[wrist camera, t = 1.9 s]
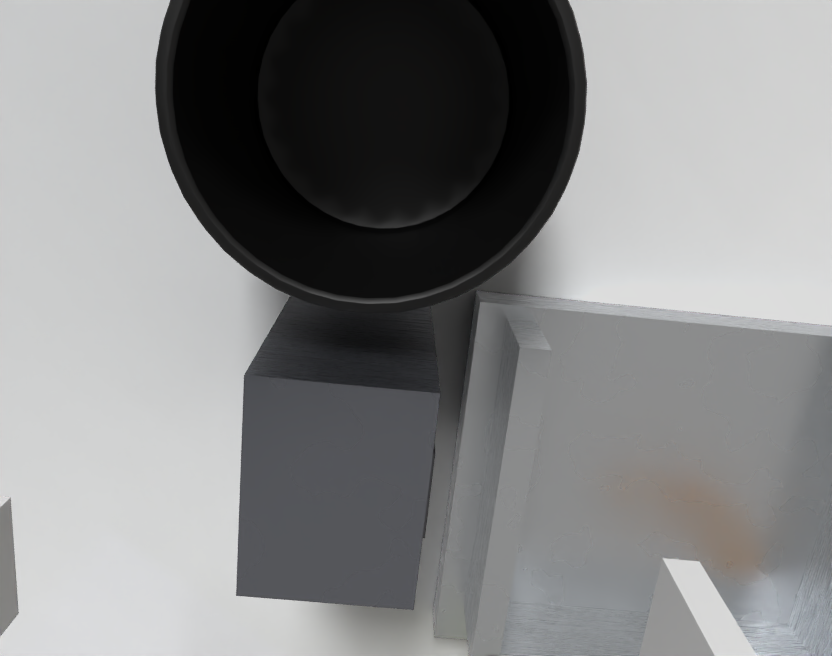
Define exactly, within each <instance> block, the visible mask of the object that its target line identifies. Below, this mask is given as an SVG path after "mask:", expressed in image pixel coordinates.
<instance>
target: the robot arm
mask: <svg viewBox="0 0 832 656" xmlns="http://www.w3.org/2000/svg"><path fill="white" fill-rule="evenodd" d="M17 614H18V598H17V584H16V569H15V555H14V541H13V526H12V512H11V497H1V496H0V636H1V635H2V634H3V632H4V631H5V630H6V629H7V627H8V626H9V625H10V623H11V622H12V621H13V620H14V618H15V617H16V616H17ZM639 656H757V655H756V653H755V652H754V650H753V648H752V647H751V645H750V643H749V642H748V640H747V639H746V637H745V635H744V634H743V632H742V630H741V629H740V627H739V625H738V624H737V622H736V620H735V619H734V617H733V616H732V614H731V612H730V611H729V609H728V607H727V606H726V604H725V602H724V601H723V599H722V598H721V596H720V594H719V593H718V591H717V589H716V588H715V586H714V584H713V583H712V581H711V580H710V578H709V576H708V575H707V573H706V571H705V570H704V568H703V566H702V565H701V563H700V562H699V561H689V560H678V559H667V558H662V562H661V566H660V570H659V575H658V579H657V583H656V587H655V591H654V595H653V600H652V604H651V608H650V612H649V616H648V620H647V625H646V629H645V633H644V637H643V641H642V645H641V650H640V654H639Z"/></svg>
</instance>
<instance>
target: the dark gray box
mask: <svg viewBox="0 0 832 656" xmlns="http://www.w3.org/2000/svg"><path fill="white" fill-rule="evenodd" d="M439 401H440V386H439V377H438V368H437V359H436V350H435V341H434V332H433V323H432V314H431V306H428V307H424V308H420V309H414V310H409V311H404V312H398V313H374V314H371V313H356V312H347V311H339V310H333V309H330V308H326V307H322V306H319V305H315V304H311V303H308V302H306V301H303V300H300V299H298V298H295V297H293V296H290V298H289V299H288V301H287V303H286V304H285V306H284V308H283V310H282V311H281V313H280V315H279V316H278V318H277V320H276V322H275V323H274V325H273V327H272V328H271V330H270V332H269V334H268V335H267V337H266V339H265V340H264V342H263V344H262V346H261V347H260V349H259V351H258V352H257V354H256V356H255V358H254V359H253V361H252V363H251V364H250V366H249V368H248V370H247V371H246V373H245V375H244V396H243V423H242V450H241V478H240V506H239V534H238V562H237V590H236V596H247V597H259V598H272V599H284V600H297V601H310V602H322V603H335V604H347V605H360V606H372V607H385V608H397V609H410V610H413V609H414V601H415V593H416V585H417V577H418V569H419V561H420V553H421V545H422V538H425V530H426V522H427V514H428V506H429V498H430V490H431V482H432V474H433V466H434V458H435V446H434V441H435V433H436V425H437V417H438V409H439Z"/></svg>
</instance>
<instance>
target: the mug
mask: <svg viewBox="0 0 832 656" xmlns="http://www.w3.org/2000/svg"><path fill="white" fill-rule="evenodd" d="M155 94H156V107H157V114H158V122H159V129H160V134H161V138H162V141H163V145H164V148H165V152H166V155H167V159H168V162H169V164H170V167H171V170H172V172H173V174H174V177H175V179H176V181H177V183H178V185H179V188H180V190H181V192H182V194H183V196H184V198H185V200H186V201H187V203H188V204H189V206H190V208H191V209H192V211H193V212H194V214H195V215H196V217H197V218H198V220H199V221H200V223H201V224H202V225H203V227H204V228H205V229H206V231H207V232H208V233H209V234H210V235H211V236H212V237H213V239H214V240H215V241H216V242H217V243H218V244H219V245H220V247H221V248H222V249H223V250H224V251H225V252H226V253H227V254H229V255H230V256H231V257H232V258H233V259H234V260H236V261H237V262H238V263H239V264H240V265H241V266H243V267H244V268H245V269H246V270H248V271H249V272H250V273H252V274H253V275H255V276H256V277H258V278H259V279H261V280H263V281H264V282H266V283H267V284H269V285H270V286H272V287H274V288H275V289H277V290H279V291H282V292H284V293H286V294H288V295H291V296H293V297H295V298H298V299H300V300H303V301H306V302H308V303H311V304H315V305H319V306H322V307H326V308H330V309H333V310H339V311H347V312H356V313H371V314H374V313H398V312H404V311H409V310H414V309H420V308H424V307H428V306H432V305H435V304H438V303H441V302H444V301H446V300H449V299H452V298H455V297H458V296H460V295H461V294H463V293H465V292H467V291H469V290H471V289H473V288H475V287H477V286H478V285H480V284H482V283H483V282H485V281H487V280H488V279H490V278H491V277H492V276H494V275H495V274H496V273H498V272H499V271H501V270H502V269H503V268H505V267H506V266H507V265H509V264H510V263H511V262H512V261H513V260H514V259H515V258H516V257H517V256H518V255H519V254H520V253H521V252H522V251H523V250H524V249H525V248H526V247H527V246H528V245H529V244H530V243H531V241H532V240H533V239H534V238H535V237H536V236H537V234H538V233H539V232H540V230H541V229H542V228H543V226H544V225H545V223H546V222H547V221H548V219H549V218H550V217H551V215H552V214H553V212H554V210H555V208H556V206H557V204H558V202H559V201H560V199H561V197H562V195H563V193H564V191H565V189H566V187H567V184H568V182H569V180H570V177H571V174H572V171H573V169H574V166H575V163H576V160H577V157H578V154H579V151H580V145H581V140H582V135H583V129H584V124H585V115H586V95H587V79H586V70H585V61H584V53H583V48H582V42H581V38H580V34H579V31H578V27H577V23H576V20H575V16H574V12H573V10H572V8H571V5H570V3H569V1H568V0H170V3H169V6H168V9H167V12H166V15H165V18H164V22H163V26H162V30H161V34H160V40H159V46H158V52H157V57H156V80H155Z"/></svg>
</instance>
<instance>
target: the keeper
mask: <svg viewBox="0 0 832 656" xmlns="http://www.w3.org/2000/svg"><path fill="white" fill-rule="evenodd" d="M662 558H667V559H678V560H689V561H699V562H700V563H701V565H702V566H703V568H704V570H705V571H706V573H707V575H708V576H709V578H710V580H711V581H712V583H713V584H714V586H715V588H716V589H717V591H718V593H719V594H720V596H721V598H722V599H723V601H724V602H725V604H726V606H727V607H728V609H729V611H730V612H731V614H732V616H733V617H734V619H735V620H736V622H737V624H738V625H739V627H740V629H741V630H742V632H743V634H744V635H745V637H746V639H747V640H748V642H749V643H750V645H751V647H752V648H753V650H754V652H755V653H756V655H757V656H832V326H827V325H817V324H806V323H796V322H786V321H776V320H766V319H756V318H746V317H736V316H726V315H716V314H706V313H696V312H686V311H676V310H666V309H656V308H645V307H635V306H625V305H615V304H605V303H595V302H585V301H575V300H565V299H555V298H545V297H535V296H525V295H515V294H505V293H495V292H484V291H476V297H475V305H474V312H473V320H472V327H471V334H470V342H469V349H468V357H467V364H466V372H465V379H464V386H463V394H462V401H461V409H460V416H459V424H458V431H457V438H456V446H455V453H454V461H453V468H452V476H451V483H450V490H449V498H448V505H447V513H446V520H445V527H444V535H443V542H442V550H441V557H440V565H439V572H438V579H437V587H436V594H435V602H434V609H433V619H434V637H439V638H452V639H464V640H467V641H468V650H469V656H639V654H640V650H641V645H642V641H643V637H644V633H645V629H646V625H647V620H648V616H649V612H650V608H651V604H652V600H653V595H654V591H655V587H656V583H657V579H658V575H659V570H660V566H661V562H662Z"/></svg>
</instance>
